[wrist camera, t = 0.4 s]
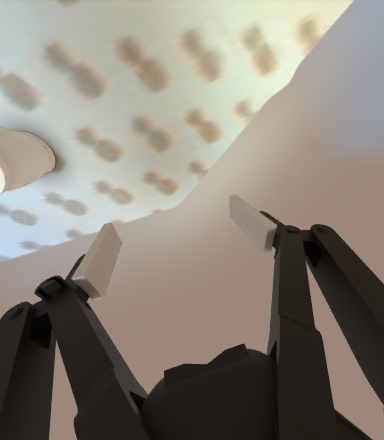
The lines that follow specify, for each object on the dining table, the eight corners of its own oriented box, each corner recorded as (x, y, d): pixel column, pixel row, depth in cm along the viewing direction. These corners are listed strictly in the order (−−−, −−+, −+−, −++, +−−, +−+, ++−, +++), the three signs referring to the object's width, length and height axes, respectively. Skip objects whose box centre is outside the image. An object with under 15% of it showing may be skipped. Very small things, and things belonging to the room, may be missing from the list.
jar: (72, 160, 34) (21, 174, 21) (42, 185, 35) (-23, 212, 22) (20, 113, 28) (-91, 94, 16) (-13, 145, 30) (-140, 151, 17)
